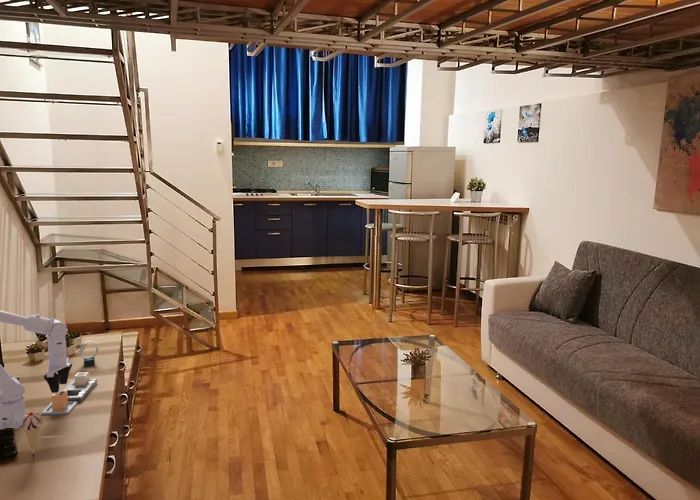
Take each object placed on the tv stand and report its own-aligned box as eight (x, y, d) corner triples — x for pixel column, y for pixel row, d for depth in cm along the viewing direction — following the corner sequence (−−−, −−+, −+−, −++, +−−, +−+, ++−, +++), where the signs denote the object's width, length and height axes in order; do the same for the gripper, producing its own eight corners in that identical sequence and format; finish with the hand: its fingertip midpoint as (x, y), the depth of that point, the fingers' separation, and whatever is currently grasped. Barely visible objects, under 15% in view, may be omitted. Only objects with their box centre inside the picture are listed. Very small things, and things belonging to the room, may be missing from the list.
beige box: (85, 390, 210) (84, 375, 209) (75, 390, 210) (74, 375, 209) (89, 385, 214) (88, 371, 213) (78, 386, 214) (78, 371, 213)
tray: (68, 414, 190) (68, 411, 189) (41, 415, 188) (41, 412, 188) (77, 403, 198) (77, 400, 198) (52, 404, 197) (52, 401, 197)
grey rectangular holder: (81, 403, 199) (81, 396, 199) (55, 403, 198) (55, 397, 197) (97, 383, 217) (97, 378, 216) (74, 384, 215) (73, 378, 215)
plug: (63, 410, 192) (63, 394, 191) (52, 411, 191) (51, 395, 190) (68, 405, 196) (67, 390, 195) (56, 406, 195) (55, 390, 194)
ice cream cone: (40, 450, 166) (37, 406, 163) (47, 457, 162) (45, 412, 160) (20, 457, 161) (17, 412, 159) (27, 465, 158) (24, 418, 156)
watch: (79, 363, 237) (78, 340, 236) (98, 361, 241) (98, 338, 239) (79, 367, 232) (78, 344, 231) (99, 365, 236) (98, 342, 234)
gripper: (61, 359, 183) (63, 396, 186) (76, 345, 198) (78, 379, 200) (39, 360, 182) (41, 396, 185) (56, 346, 197) (58, 380, 199)
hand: (59, 388), depth 192 cm, fingers open, 7 cm apart
